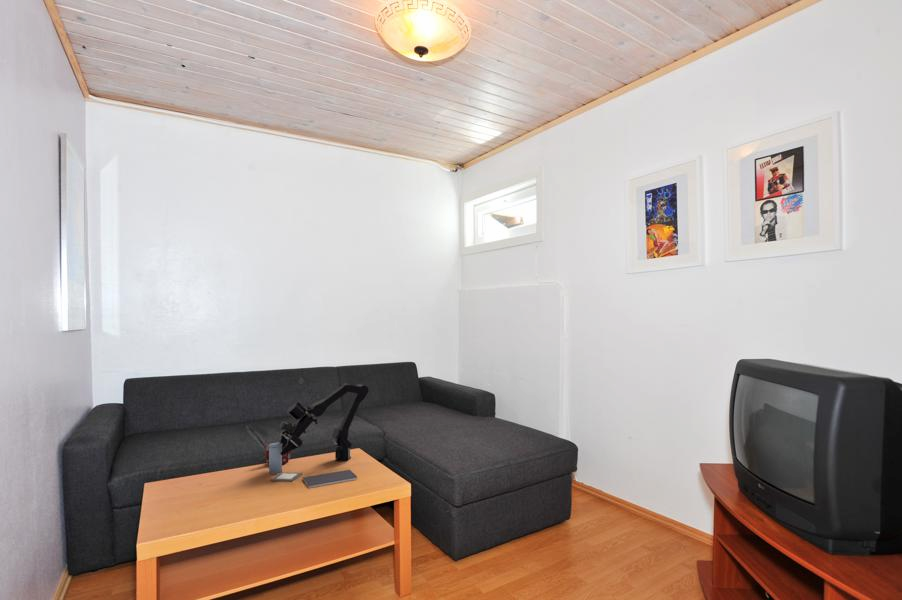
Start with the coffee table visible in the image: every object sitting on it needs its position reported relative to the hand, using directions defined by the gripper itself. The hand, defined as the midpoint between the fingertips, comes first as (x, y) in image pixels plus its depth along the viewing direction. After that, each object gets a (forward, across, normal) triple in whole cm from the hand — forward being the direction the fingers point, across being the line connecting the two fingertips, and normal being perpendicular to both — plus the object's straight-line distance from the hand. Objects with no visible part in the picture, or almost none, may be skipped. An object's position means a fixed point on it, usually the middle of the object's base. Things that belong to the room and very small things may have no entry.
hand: (278, 452), depth 218 cm
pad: (+6, +11, +7) cm, 14 cm away
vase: (+7, 0, +6) cm, 9 cm away
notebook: (-4, +26, +18) cm, 32 cm away
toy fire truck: (+4, -14, +9) cm, 18 cm away
